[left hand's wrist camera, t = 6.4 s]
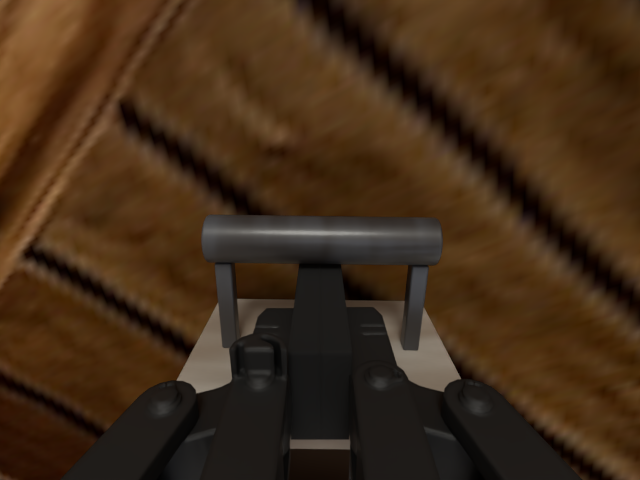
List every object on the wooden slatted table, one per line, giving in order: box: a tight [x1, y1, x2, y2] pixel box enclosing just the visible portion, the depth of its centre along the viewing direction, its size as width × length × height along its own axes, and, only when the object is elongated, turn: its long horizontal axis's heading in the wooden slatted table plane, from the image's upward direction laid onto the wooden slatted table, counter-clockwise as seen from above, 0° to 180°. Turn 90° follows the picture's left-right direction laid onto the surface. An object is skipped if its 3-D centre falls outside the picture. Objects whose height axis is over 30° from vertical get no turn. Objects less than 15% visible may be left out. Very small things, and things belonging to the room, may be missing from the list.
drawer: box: [177, 215, 461, 480], centre depth 17 cm, size 24×10×7 cm, turn 179°
